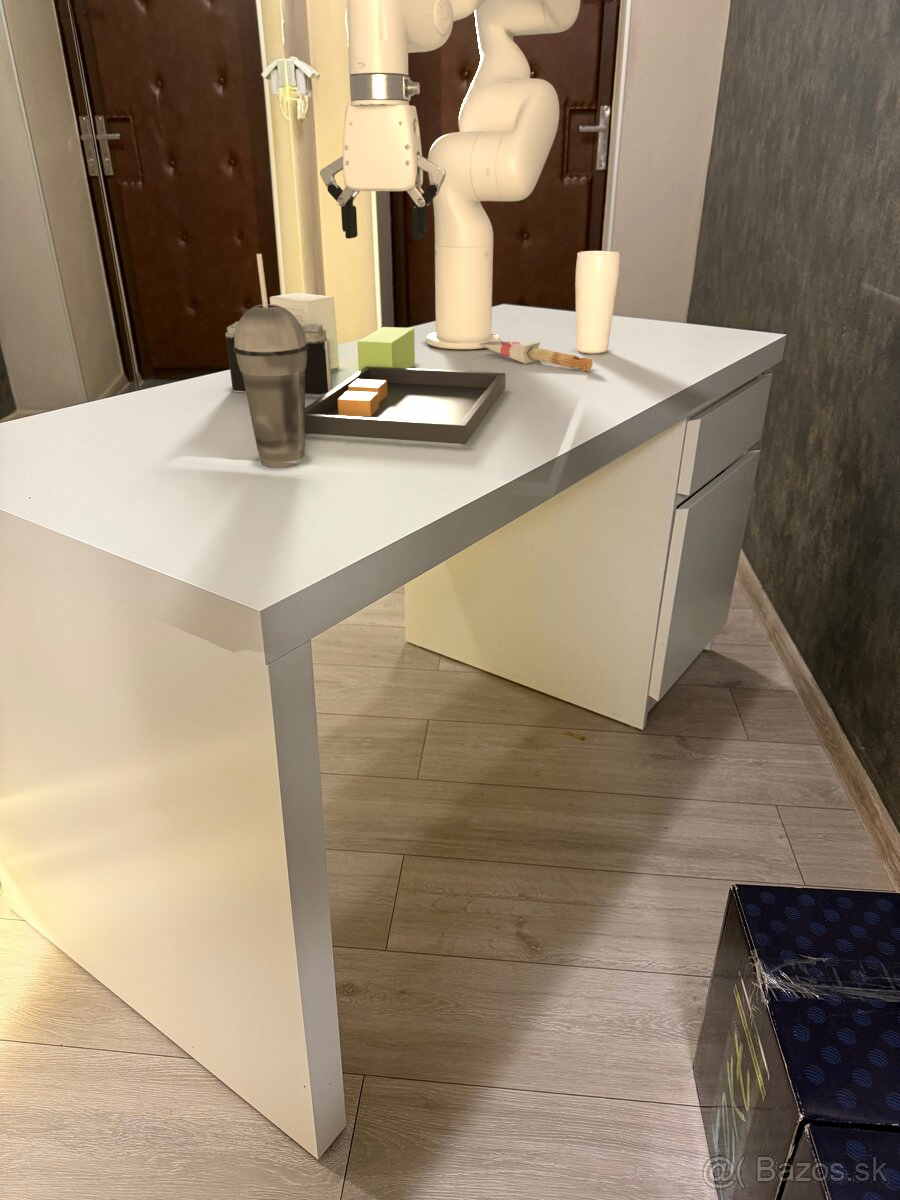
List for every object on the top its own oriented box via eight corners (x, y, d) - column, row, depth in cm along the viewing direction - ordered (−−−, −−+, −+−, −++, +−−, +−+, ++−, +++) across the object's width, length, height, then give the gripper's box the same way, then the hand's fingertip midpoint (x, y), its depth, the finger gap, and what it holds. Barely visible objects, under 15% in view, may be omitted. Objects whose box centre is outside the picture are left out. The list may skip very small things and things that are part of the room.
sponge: (384, 363, 128) (382, 326, 126) (415, 365, 127) (414, 328, 125) (359, 381, 118) (357, 341, 115) (393, 383, 117) (391, 342, 114)
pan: (367, 384, 116) (366, 366, 115) (505, 392, 112) (505, 373, 111) (296, 437, 94) (294, 414, 93) (465, 449, 90) (465, 425, 89)
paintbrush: (491, 331, 134) (597, 353, 123) (490, 349, 136) (594, 372, 125) (476, 335, 132) (583, 357, 121) (475, 352, 133) (581, 376, 122)
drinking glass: (621, 352, 135) (630, 253, 128) (590, 357, 132) (597, 255, 125) (592, 345, 140) (599, 249, 133) (562, 350, 137) (568, 252, 130)
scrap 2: (347, 407, 103) (346, 390, 102) (378, 408, 103) (378, 392, 102) (338, 415, 100) (337, 399, 99) (370, 417, 99) (369, 400, 98)
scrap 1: (358, 394, 109) (357, 378, 108) (387, 395, 108) (387, 380, 107) (348, 401, 106) (347, 386, 105) (379, 403, 105) (378, 387, 104)
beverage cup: (254, 476, 82) (229, 260, 73) (240, 455, 88) (215, 252, 79) (325, 466, 85) (310, 256, 76) (307, 446, 91) (290, 249, 81)
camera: (214, 396, 110) (204, 318, 106) (241, 384, 116) (232, 310, 111) (315, 405, 106) (308, 324, 102) (337, 392, 112) (332, 315, 107)
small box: (340, 370, 124) (335, 296, 119) (312, 377, 120) (306, 300, 115) (304, 363, 128) (298, 291, 123) (276, 369, 125) (268, 295, 120)
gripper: (451, 94, 108) (451, 237, 116) (326, 96, 111) (335, 235, 119) (437, 90, 101) (439, 241, 109) (305, 92, 105) (315, 239, 113)
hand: (384, 238), depth 114 cm, fingers open, 9 cm apart
